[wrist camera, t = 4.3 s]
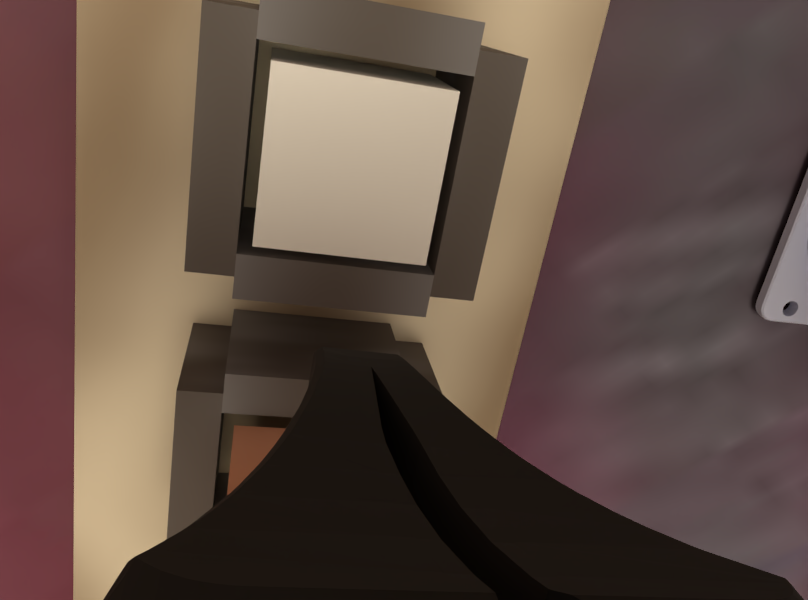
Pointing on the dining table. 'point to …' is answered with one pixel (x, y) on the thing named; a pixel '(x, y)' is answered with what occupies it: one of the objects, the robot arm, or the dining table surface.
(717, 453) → the dining table surface
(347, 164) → the offwhite button
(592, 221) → the dining table surface
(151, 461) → the button panel
